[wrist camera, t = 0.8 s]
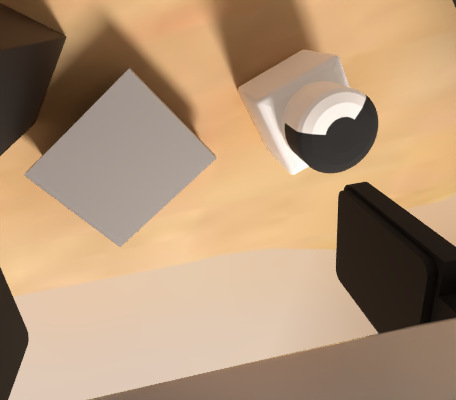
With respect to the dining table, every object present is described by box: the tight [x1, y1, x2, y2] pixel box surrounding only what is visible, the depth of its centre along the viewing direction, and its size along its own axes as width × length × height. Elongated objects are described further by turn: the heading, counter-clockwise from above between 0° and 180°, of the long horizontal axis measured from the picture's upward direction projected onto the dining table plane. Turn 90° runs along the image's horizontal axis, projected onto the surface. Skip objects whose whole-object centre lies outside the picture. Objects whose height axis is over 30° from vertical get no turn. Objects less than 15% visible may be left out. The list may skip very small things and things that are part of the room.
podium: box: [24, 67, 216, 247], centre depth 34 cm, size 12×10×4 cm
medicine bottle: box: [238, 49, 378, 174], centre depth 31 cm, size 7×7×12 cm
